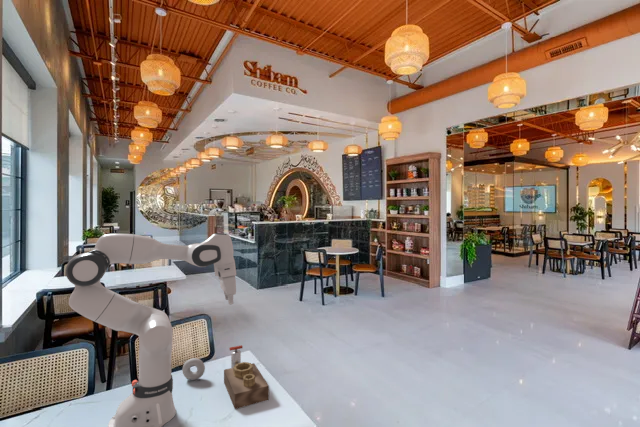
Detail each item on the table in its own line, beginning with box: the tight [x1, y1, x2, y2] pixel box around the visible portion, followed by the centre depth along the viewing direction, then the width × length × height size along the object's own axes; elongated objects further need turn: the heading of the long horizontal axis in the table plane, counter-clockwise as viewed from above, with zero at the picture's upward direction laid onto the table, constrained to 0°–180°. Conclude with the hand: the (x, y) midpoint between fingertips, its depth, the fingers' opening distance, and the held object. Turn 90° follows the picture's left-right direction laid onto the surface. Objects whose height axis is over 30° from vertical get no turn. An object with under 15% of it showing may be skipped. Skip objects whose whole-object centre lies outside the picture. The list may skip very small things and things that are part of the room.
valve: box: [228, 345, 243, 368], centre depth 158 cm, size 6×5×12 cm
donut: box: [182, 357, 206, 381], centre depth 151 cm, size 10×4×10 cm, turn 97°
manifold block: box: [223, 361, 270, 410], centre depth 142 cm, size 14×22×9 cm, turn 27°
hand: (229, 301), depth 141 cm, fingers open, 8 cm apart
